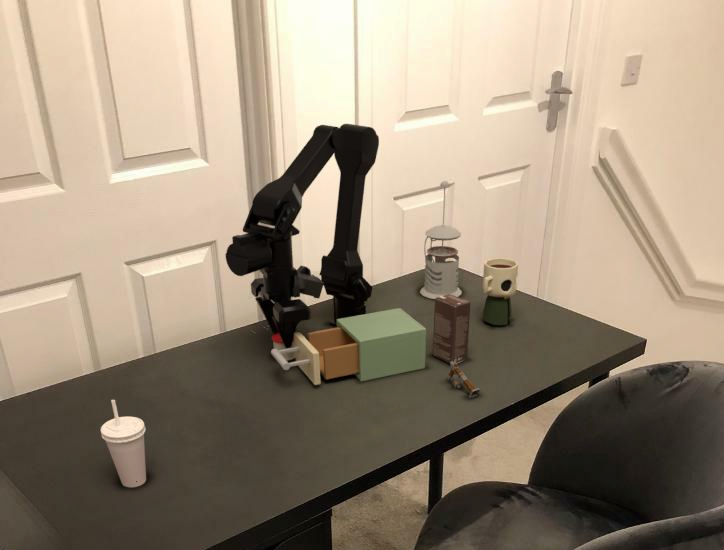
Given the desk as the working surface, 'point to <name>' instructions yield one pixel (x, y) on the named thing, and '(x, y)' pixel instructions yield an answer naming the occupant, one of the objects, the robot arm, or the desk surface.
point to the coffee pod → (280, 346)
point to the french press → (441, 261)
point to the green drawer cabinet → (386, 343)
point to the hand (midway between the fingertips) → (282, 341)
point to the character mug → (499, 289)
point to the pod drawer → (323, 354)
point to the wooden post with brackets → (462, 378)
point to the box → (451, 328)
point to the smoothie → (126, 447)
